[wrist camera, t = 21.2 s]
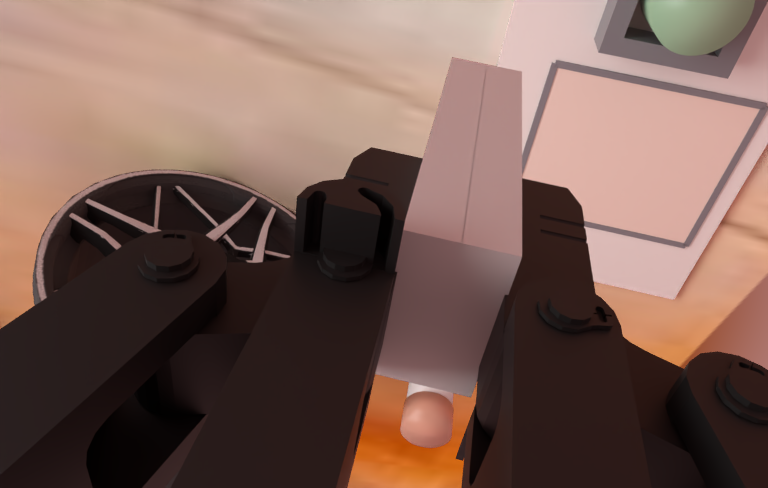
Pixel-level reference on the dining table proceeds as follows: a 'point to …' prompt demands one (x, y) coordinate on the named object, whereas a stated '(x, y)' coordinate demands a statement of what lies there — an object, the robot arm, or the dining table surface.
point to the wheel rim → (159, 223)
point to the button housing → (647, 47)
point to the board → (635, 139)
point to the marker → (427, 416)
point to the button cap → (696, 23)
